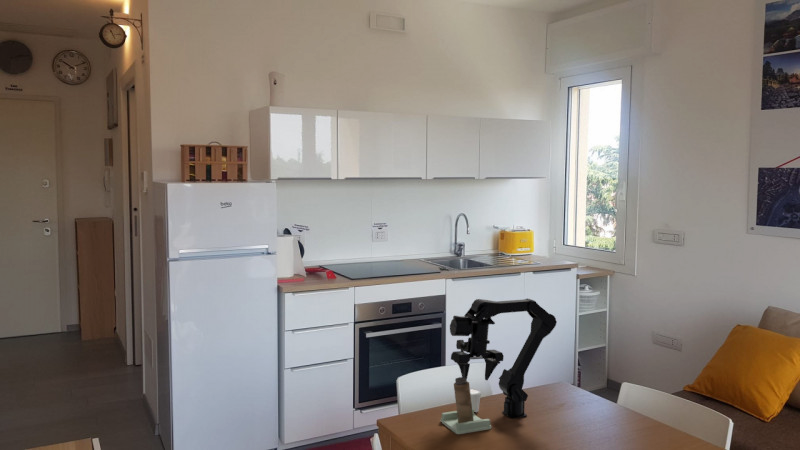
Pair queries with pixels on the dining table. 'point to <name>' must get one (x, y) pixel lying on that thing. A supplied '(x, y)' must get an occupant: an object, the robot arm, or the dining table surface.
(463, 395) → the pepper mill
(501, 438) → the dining table surface
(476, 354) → the robot arm
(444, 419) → the tray
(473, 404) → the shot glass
